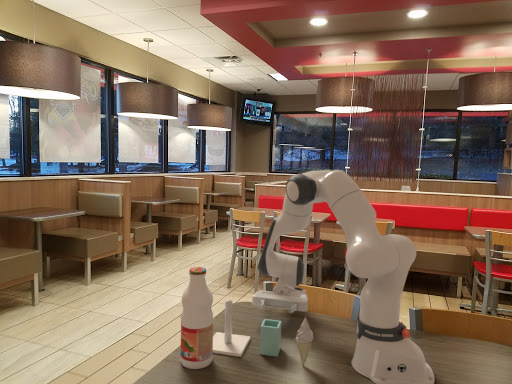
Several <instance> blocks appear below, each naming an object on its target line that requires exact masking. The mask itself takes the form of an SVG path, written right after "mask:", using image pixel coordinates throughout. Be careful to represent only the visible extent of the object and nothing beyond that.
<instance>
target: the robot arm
mask: <svg viewBox="0 0 512 384" xmlns="http://www.w3.org/2000/svg"><path fill="white" fill-rule="evenodd" d="M284 194H285V195H284V198H283V203H282V209H281V213H280V214H279V215H278V216H275V217H274V218H273V219H272V221H271V224H270V226H269V230H268V232H267V235H266V238H265V241H264V245H263V247H262V251H261V253H260V255H259V257H258V261H257V270H258V271H259V273H260V274H261V275H262V276H266V277H275V278H279V279H277V282H276V283H275V285H274V286H273V289H272V291H270V290H257V291H256V292H255V293H254V294H253V295H252V299H251V300H252V302H251V303H252V305H253V306H255V307H261V310H264V311H265V310H267V308H271V309H277V310H278V309H281V310H288V311H287V312H288V313H289V314H293V313H294V312H303V313H304V312H308V303H309V302H308V301H309V298H308V295H307V292H306V291H307V290H306V289H303V288H300V287H298V286H300V285H301V284H302V280H303V278H304V272H305V264H304V262H303V260H302V258H301V257H299V256H296V255H290V254H285V253H280V252H277V251H275V250H274V247H275V245H276V242H277V239H278V238H279V237H280V236H283V235H288V234H296V233H300V232H302V231H303V230H305V229H306V228H308V226H309V225H310V223H311V219H312V215H313V208H314V204H320V203H327V205H328V207H329V208H330V210H331V212H332V213H333V216H334V217H335V218H336V220H337V222H338V224H339V225H340V227H341V229H342V231H343V233H344V236H345V239H346V244H347V251H346V253H345V264H346V267H347V268H348V270H349V272H350V273H351V274H352V275H353V276H355V277H357V278H358V279H367V281H366V283H365V284H364V286H363V287H362V290H361V291H360V296H359V297H360V298H359V316H358V317H357V321H356V337H357V339H356V340H357V341H356V346H355V349H354V355H353V357H352V359H351V366H352V368H353V369H354V370H355V371H356V372H357V373H359V374H360V375H362V376H364V377H366V378H368V379H369V380H370V381H372V382H373V383H374V384H435V374H434V371H433V369H432V367H431V366H430V365H429V364H428V362H426V358H425V354H424V352H423V350H422V349H421V347H420V346H418V344H416V342H414V341H412V340H411V339H410V337H411V332H410V330H409V329H407V326H406V325H405V324H404V322H403V321H400V316H401V315H400V313H401V301H402V300H401V299H402V294H403V290H404V287H405V283H406V280H407V277H408V274H409V271H410V268H411V266H412V264H413V263H414V262H415V260H416V257H417V248H416V245H415V243H414V242H413V240H412V239H410V238H409V237H407V236H405V235H402V234H395V233H392V234H391V233H389V234H385V235H382V234H381V233H380V231H379V229H378V226H377V223H376V219H377V212H376V210H375V209H374V207H373V206H372V204H371V202H370V201H369V199H368V198H367V196H366V195H365V193H364V192H363V190H362V189H361V188H360V186H358V184H357V183H356V182H355V181H354V179H353V178H352V177H351V176H350V175H349V174H348V173H347V172H345V171H344V170H342V169H341V170H340V169H323V170H312V171H311V170H310V171H307V172H302V173H297V174H295V175H292V176H290V177H289V178H288V179H287V180H286V185H285V193H284Z"/></svg>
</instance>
